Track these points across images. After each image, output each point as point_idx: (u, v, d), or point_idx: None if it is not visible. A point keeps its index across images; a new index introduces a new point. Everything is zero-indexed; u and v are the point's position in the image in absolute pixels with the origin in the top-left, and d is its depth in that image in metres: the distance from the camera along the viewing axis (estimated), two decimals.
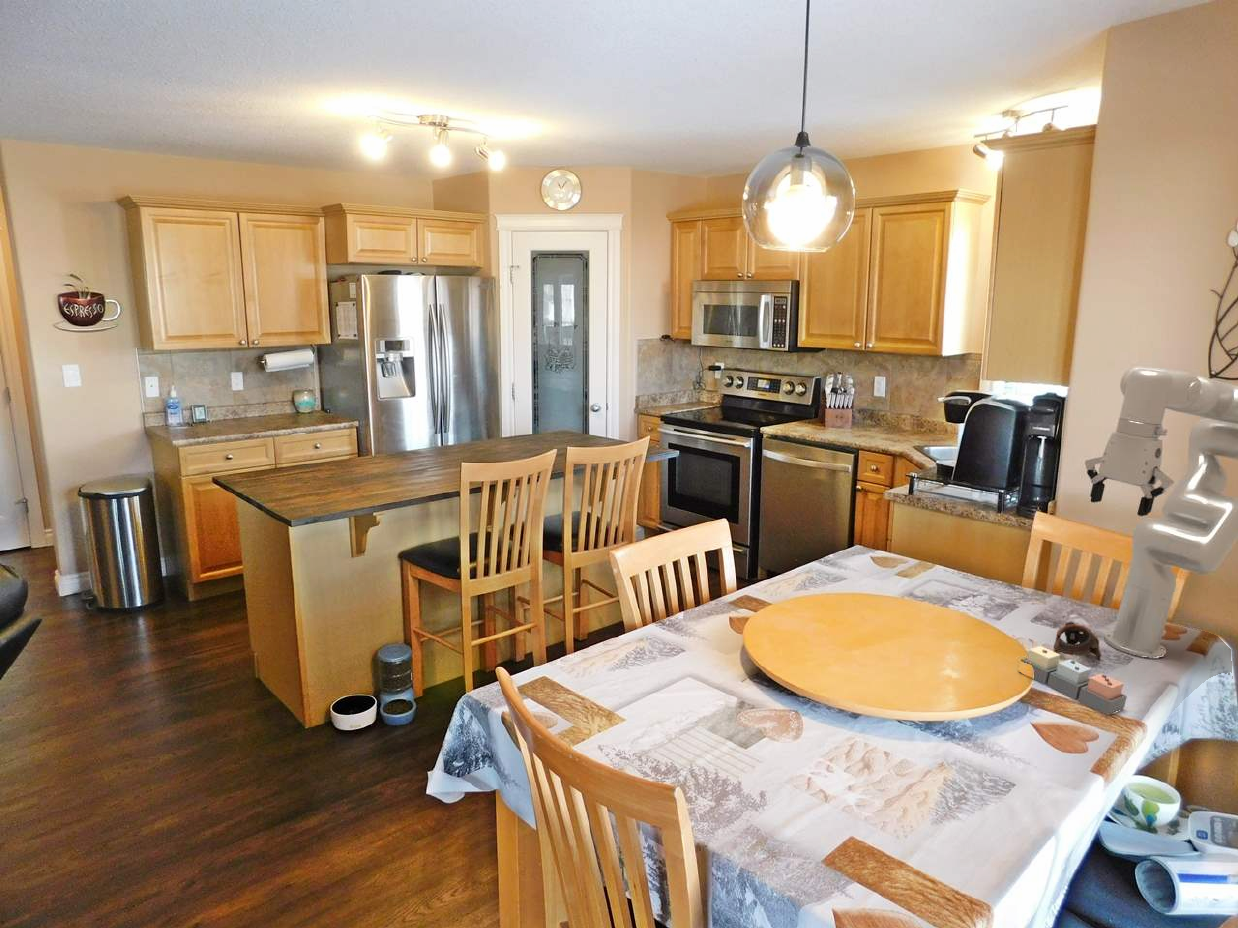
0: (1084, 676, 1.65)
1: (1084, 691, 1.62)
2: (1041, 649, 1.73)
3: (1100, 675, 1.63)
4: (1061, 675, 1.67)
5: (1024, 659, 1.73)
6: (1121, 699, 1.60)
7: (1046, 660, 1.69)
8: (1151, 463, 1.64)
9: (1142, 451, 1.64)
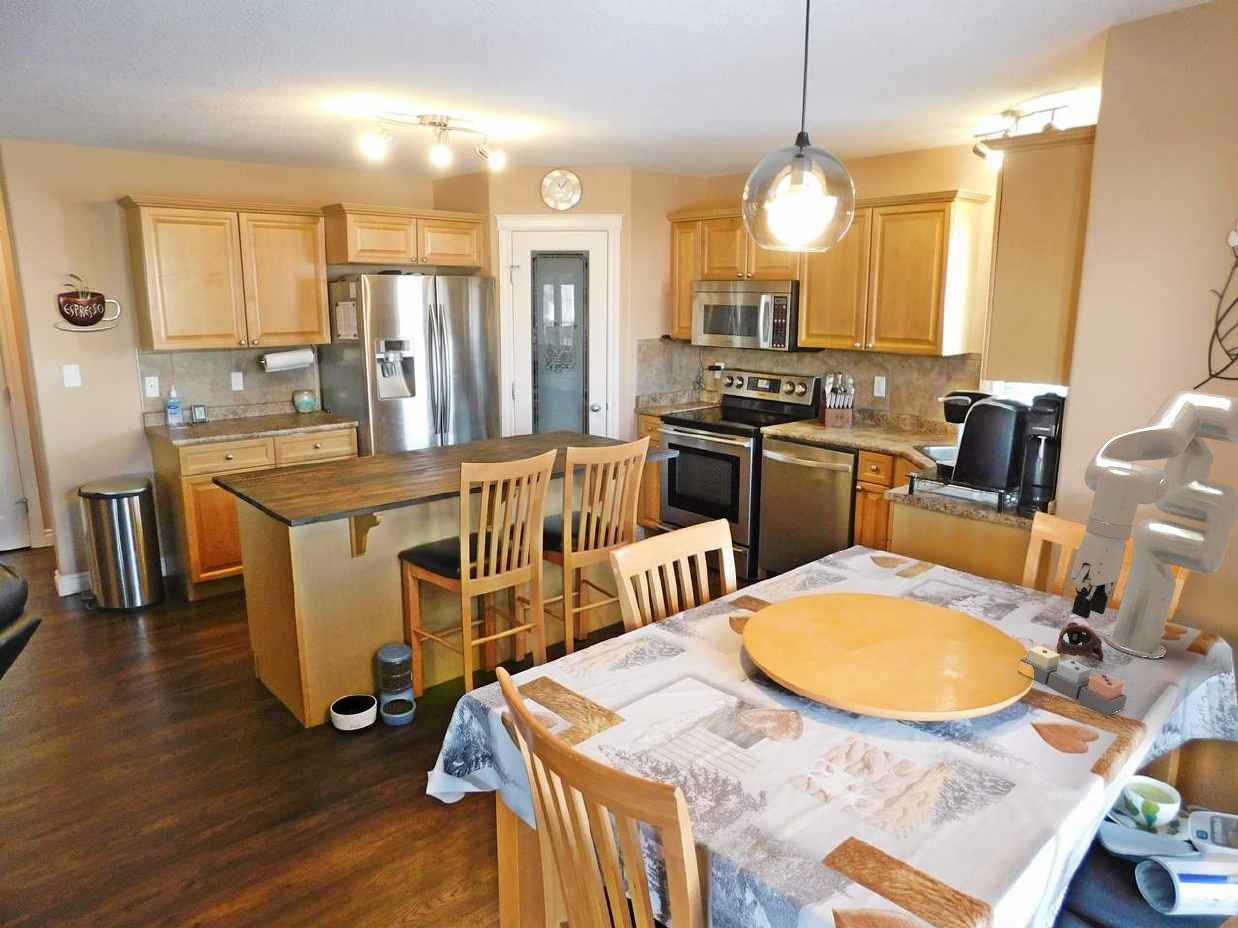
0: (1084, 676, 1.65)
1: (1084, 691, 1.62)
2: (1041, 649, 1.73)
3: (1100, 675, 1.63)
4: (1061, 675, 1.67)
5: (1024, 659, 1.73)
6: (1121, 699, 1.60)
7: (1046, 660, 1.69)
8: None
9: (1123, 549, 1.60)
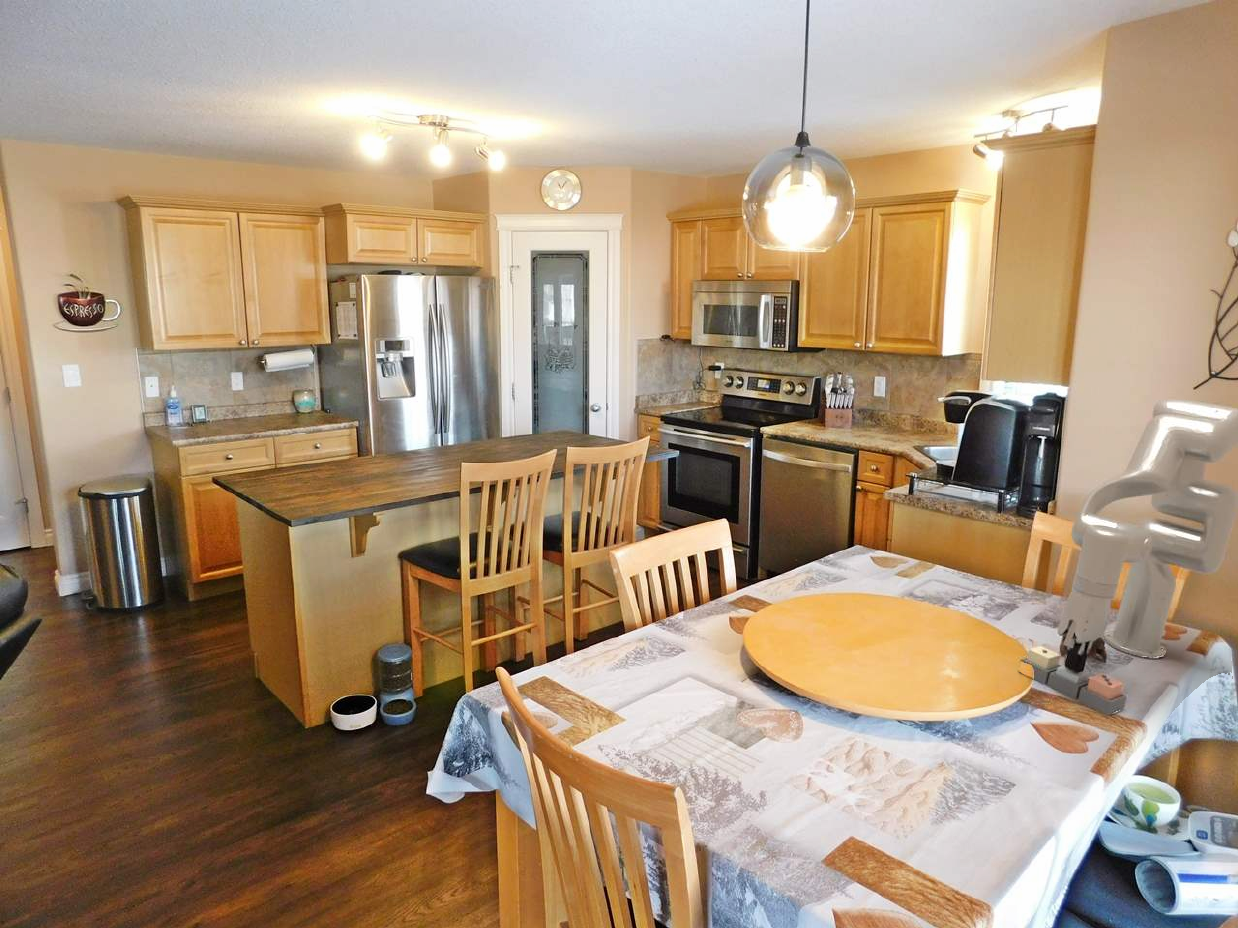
0: (1083, 681, 1.66)
1: (1084, 691, 1.62)
2: (1041, 649, 1.73)
3: (1100, 675, 1.63)
4: None
5: (1024, 659, 1.73)
6: (1121, 699, 1.60)
7: (1046, 660, 1.69)
8: None
9: (1108, 606, 1.63)
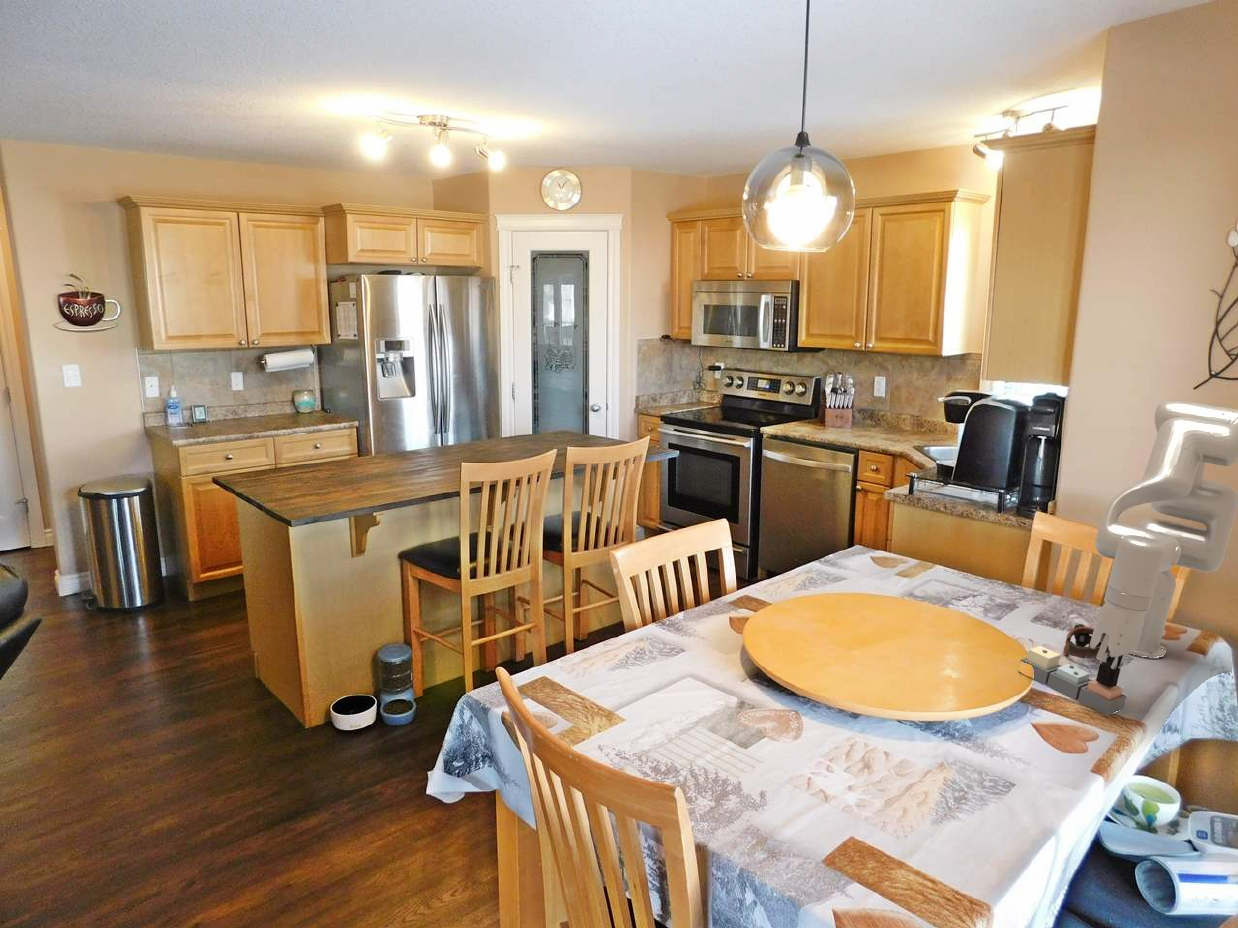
0: (1083, 681, 1.66)
1: (1084, 691, 1.62)
2: (1041, 649, 1.73)
3: None
4: None
5: (1024, 659, 1.73)
6: (1121, 699, 1.60)
7: (1046, 660, 1.69)
8: None
9: (1142, 619, 1.58)
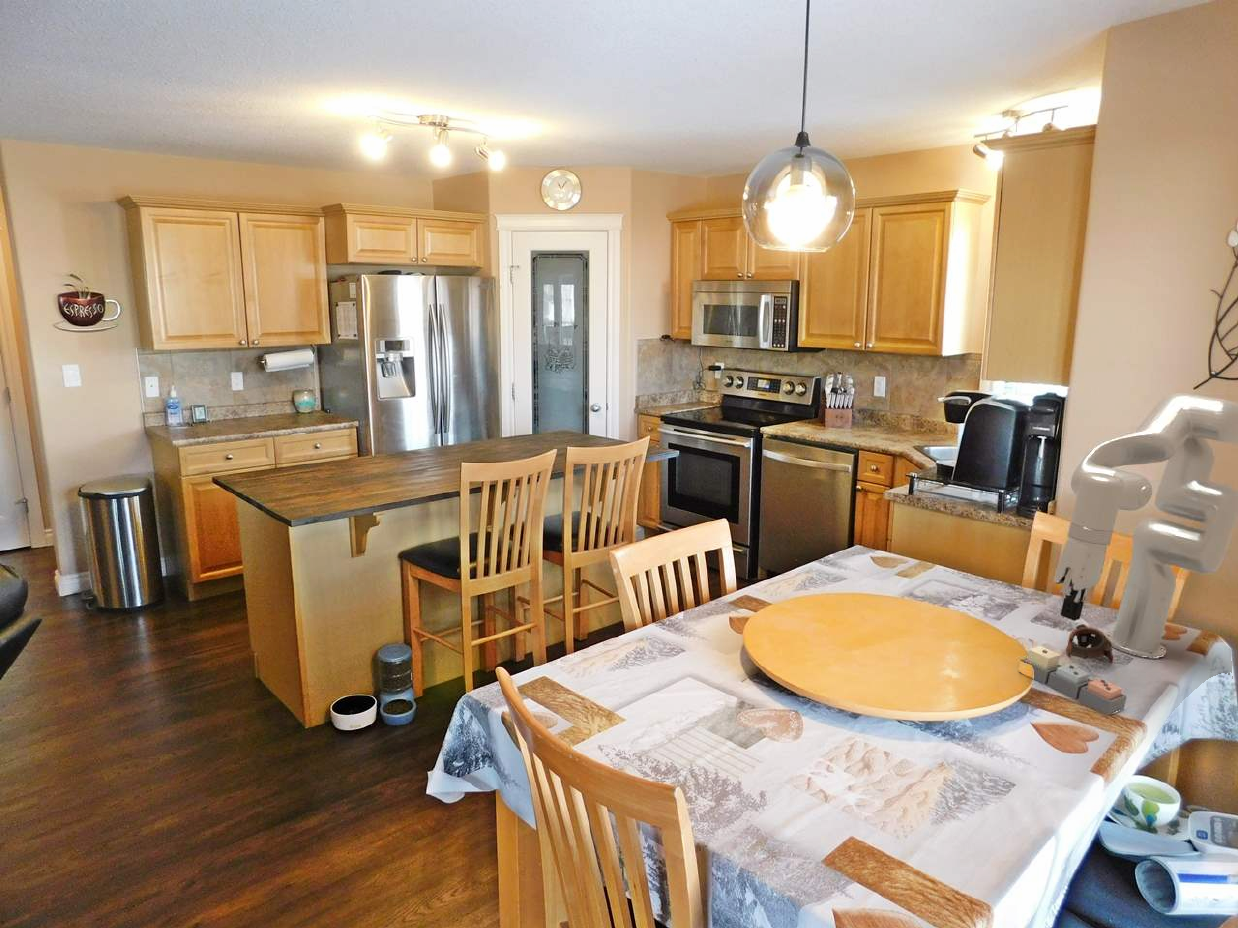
0: (1083, 681, 1.66)
1: (1084, 691, 1.62)
2: (1041, 649, 1.73)
3: (1099, 680, 1.64)
4: None
5: (1024, 659, 1.73)
6: (1121, 699, 1.60)
7: (1046, 660, 1.69)
8: None
9: (1104, 553, 1.63)
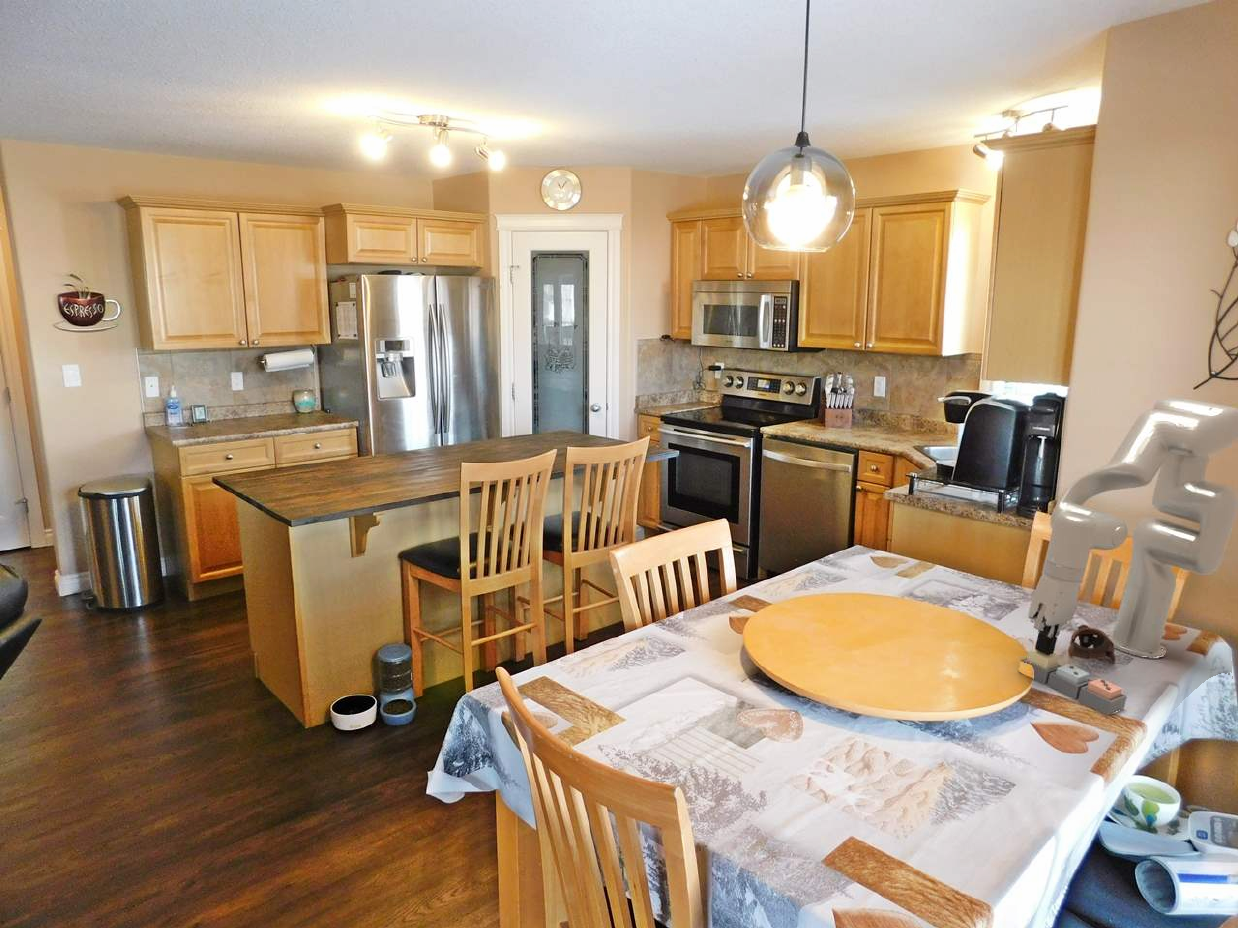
0: (1083, 681, 1.66)
1: (1084, 691, 1.62)
2: None
3: (1099, 680, 1.64)
4: None
5: (1024, 659, 1.73)
6: (1121, 699, 1.60)
7: (1046, 661, 1.70)
8: None
9: (1077, 590, 1.68)
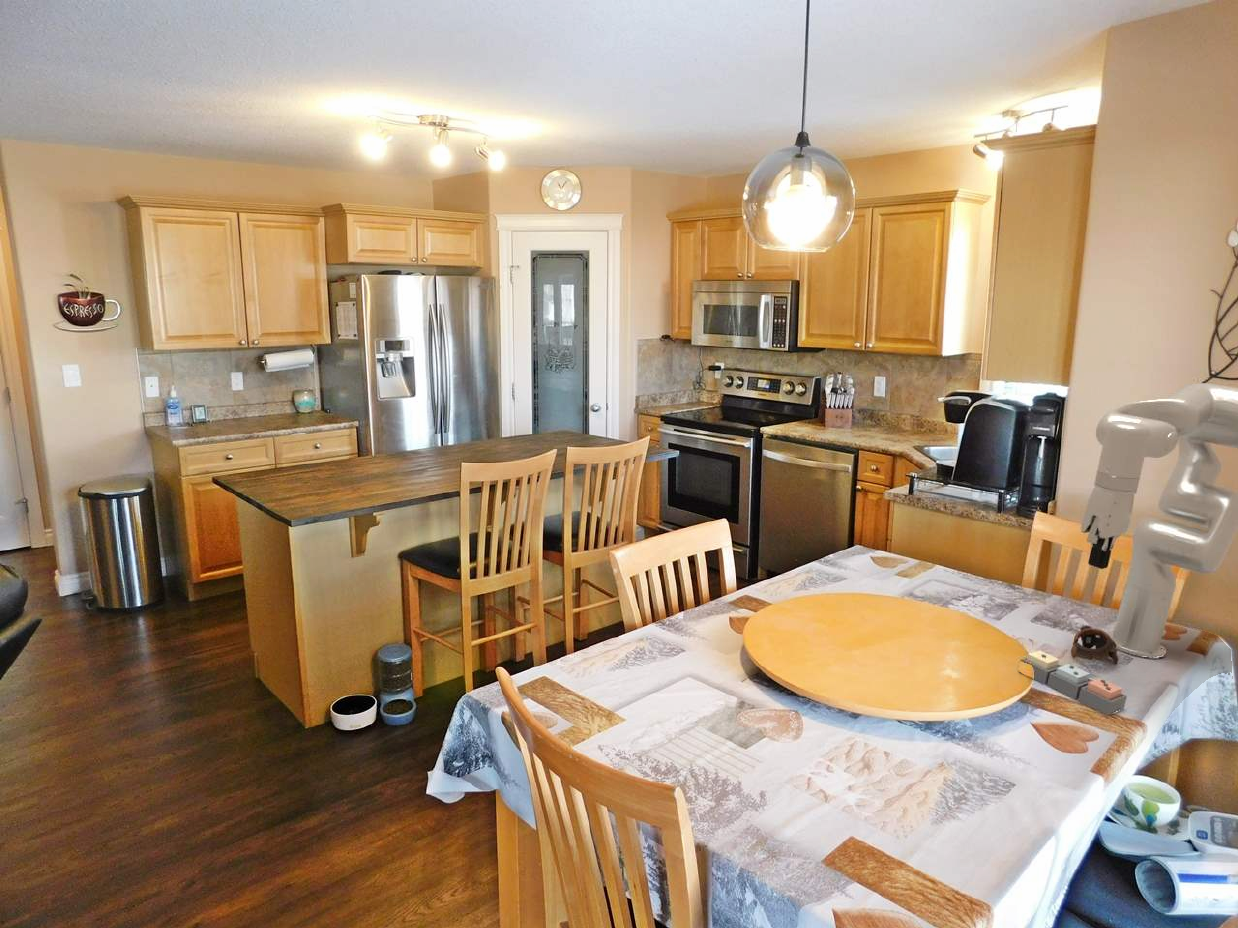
0: (1083, 681, 1.66)
1: (1084, 691, 1.62)
2: (1040, 654, 1.73)
3: (1099, 680, 1.64)
4: None
5: (1024, 659, 1.73)
6: (1121, 699, 1.60)
7: (1045, 665, 1.70)
8: None
9: (1131, 501, 1.64)
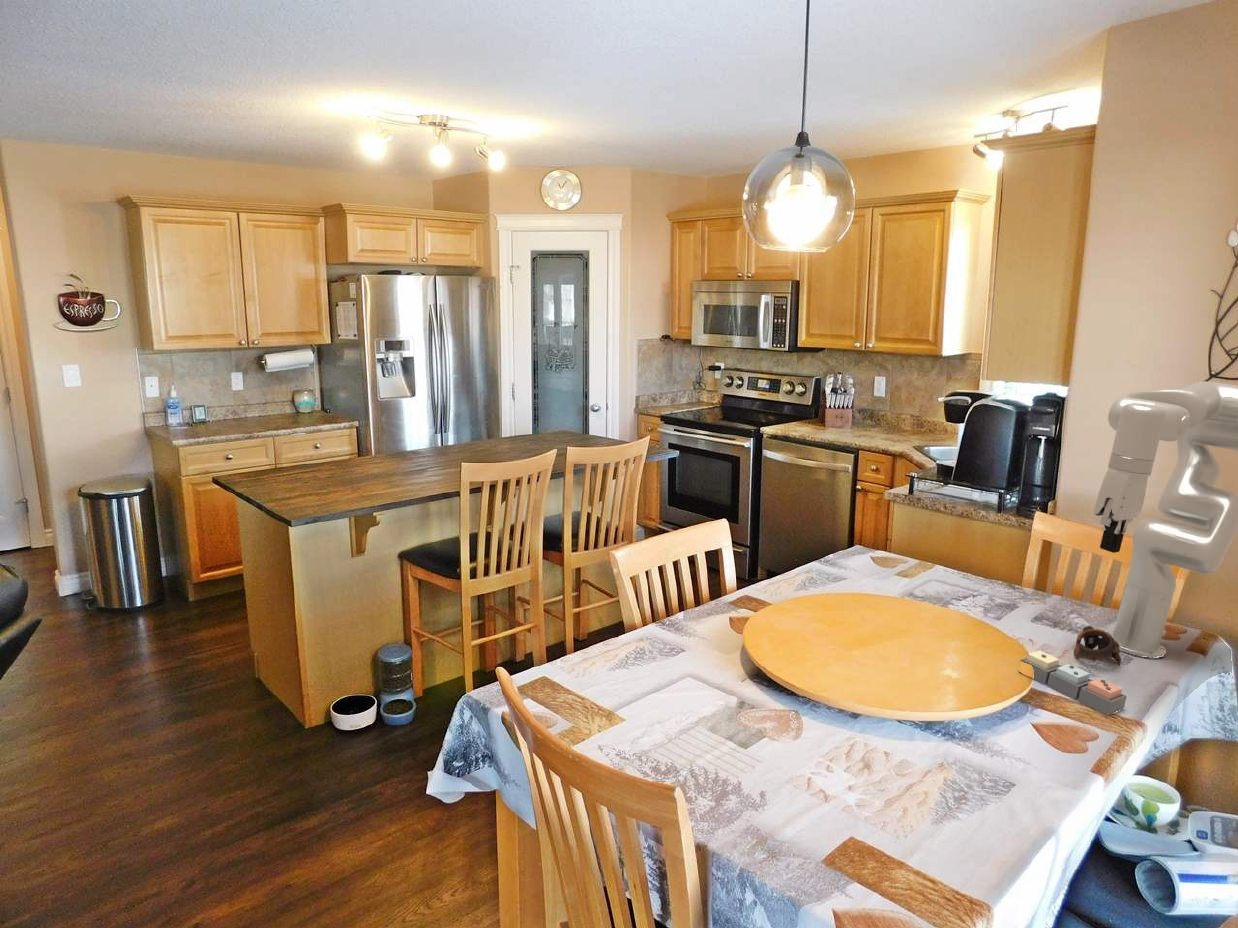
0: (1083, 681, 1.66)
1: (1084, 691, 1.62)
2: (1040, 654, 1.73)
3: (1099, 680, 1.64)
4: None
5: (1024, 659, 1.73)
6: (1121, 699, 1.60)
7: (1045, 665, 1.70)
8: None
9: (1145, 485, 1.63)
